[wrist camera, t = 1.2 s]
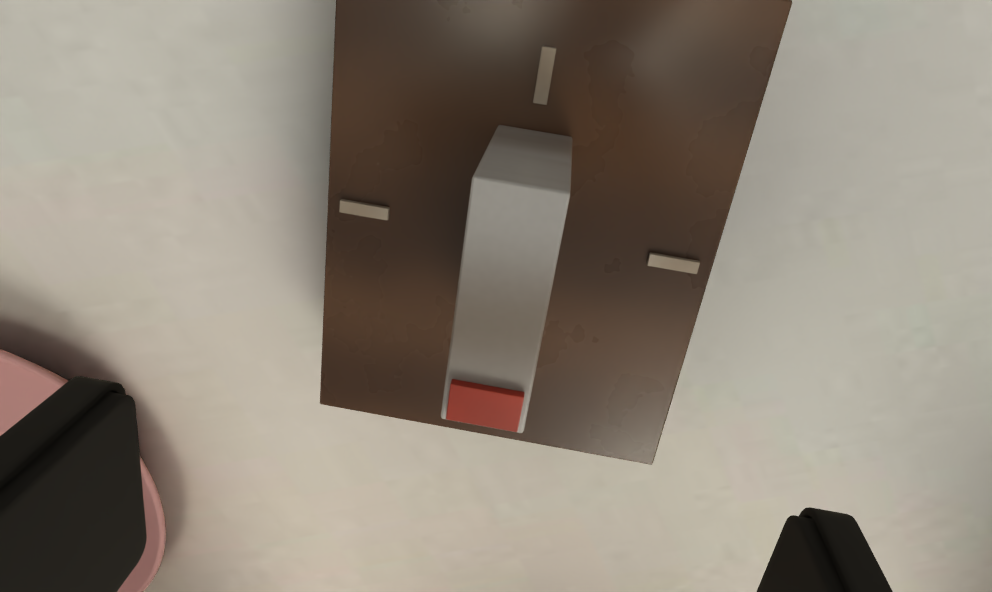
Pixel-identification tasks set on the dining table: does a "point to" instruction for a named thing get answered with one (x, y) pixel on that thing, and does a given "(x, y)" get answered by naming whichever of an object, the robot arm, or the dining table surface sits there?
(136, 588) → the plate
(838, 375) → the dining table surface
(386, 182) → the brown dial block
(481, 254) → the red-tipped white block
